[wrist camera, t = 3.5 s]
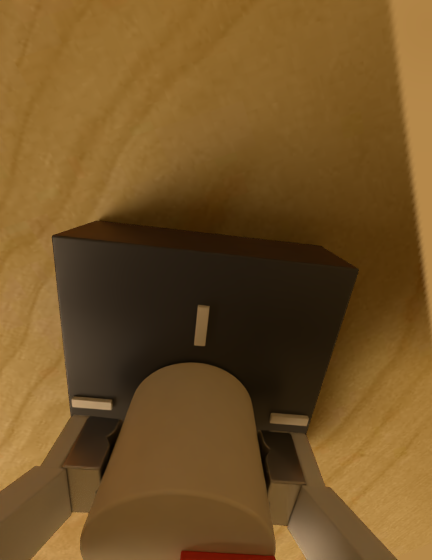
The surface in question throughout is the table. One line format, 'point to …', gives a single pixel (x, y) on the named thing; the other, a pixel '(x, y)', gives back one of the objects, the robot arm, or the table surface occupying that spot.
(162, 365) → the control panel
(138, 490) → the dial
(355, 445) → the table surface
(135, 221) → the table surface
